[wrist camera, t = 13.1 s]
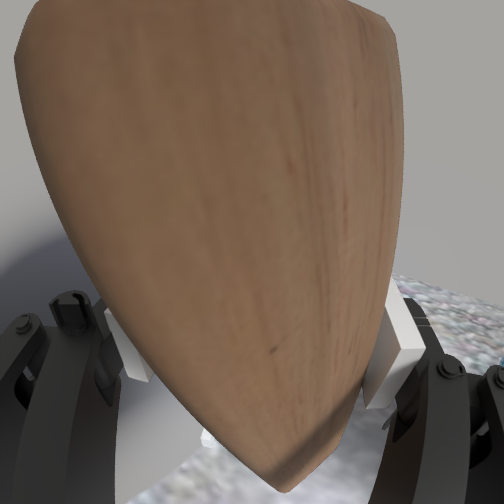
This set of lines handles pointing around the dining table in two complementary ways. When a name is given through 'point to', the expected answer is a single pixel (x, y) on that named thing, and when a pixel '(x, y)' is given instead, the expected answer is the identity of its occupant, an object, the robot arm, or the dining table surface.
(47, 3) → the wooden block
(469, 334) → the dining table surface
